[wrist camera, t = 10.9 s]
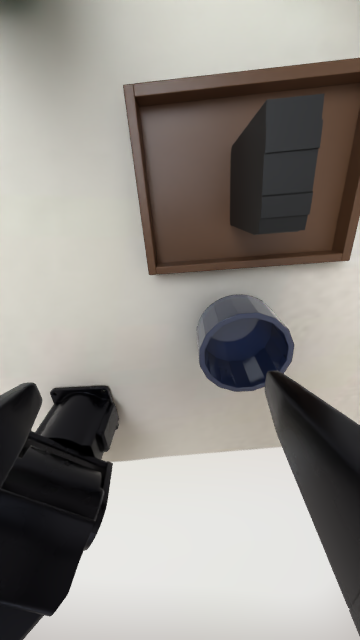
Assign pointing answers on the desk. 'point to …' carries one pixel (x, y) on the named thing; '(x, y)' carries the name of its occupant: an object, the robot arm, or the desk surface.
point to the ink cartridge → (276, 166)
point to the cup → (242, 343)
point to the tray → (214, 167)
